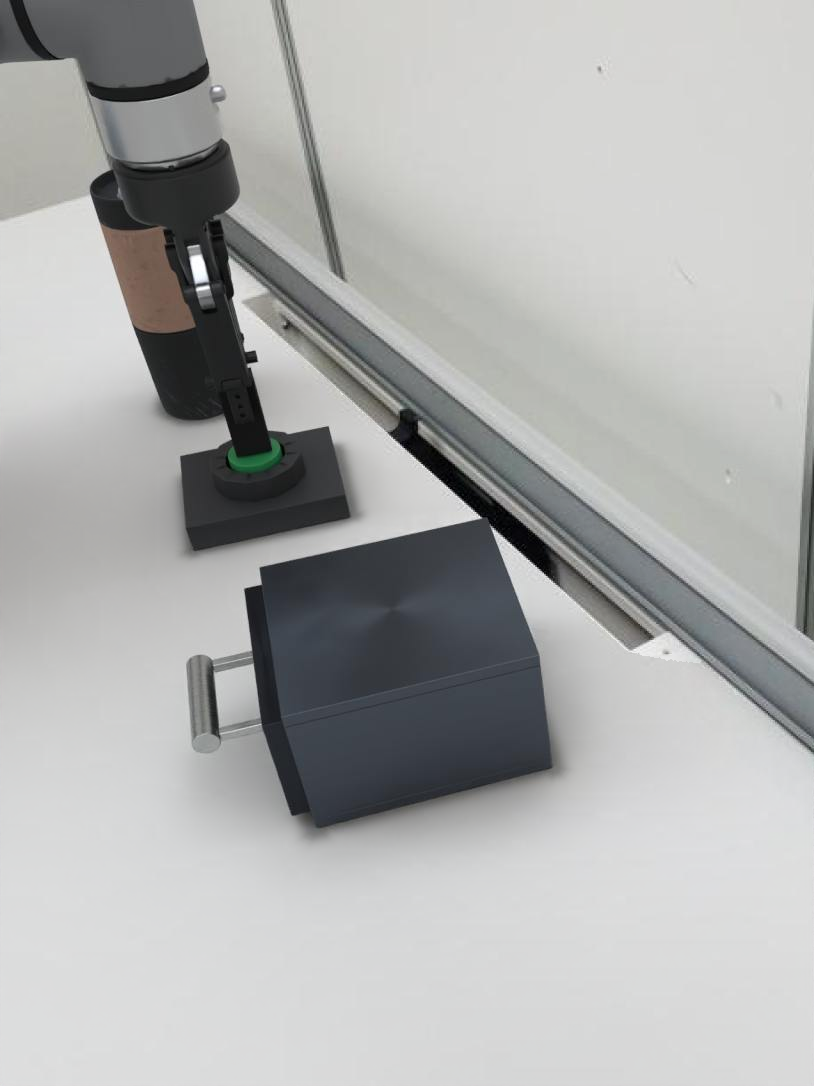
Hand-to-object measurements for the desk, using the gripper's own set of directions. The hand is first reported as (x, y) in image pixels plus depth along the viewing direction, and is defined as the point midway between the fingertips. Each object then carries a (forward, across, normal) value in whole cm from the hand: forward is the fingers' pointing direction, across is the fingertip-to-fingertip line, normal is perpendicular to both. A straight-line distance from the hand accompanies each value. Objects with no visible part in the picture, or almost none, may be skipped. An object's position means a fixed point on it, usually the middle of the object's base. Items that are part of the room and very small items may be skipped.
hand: (253, 448), depth 98 cm
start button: (+2, 0, 0) cm, 2 cm away
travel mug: (+5, +17, +4) cm, 18 cm away
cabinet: (+5, -28, -7) cm, 29 cm away
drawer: (+4, -28, -3) cm, 28 cm away
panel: (+5, 0, 0) cm, 5 cm away
